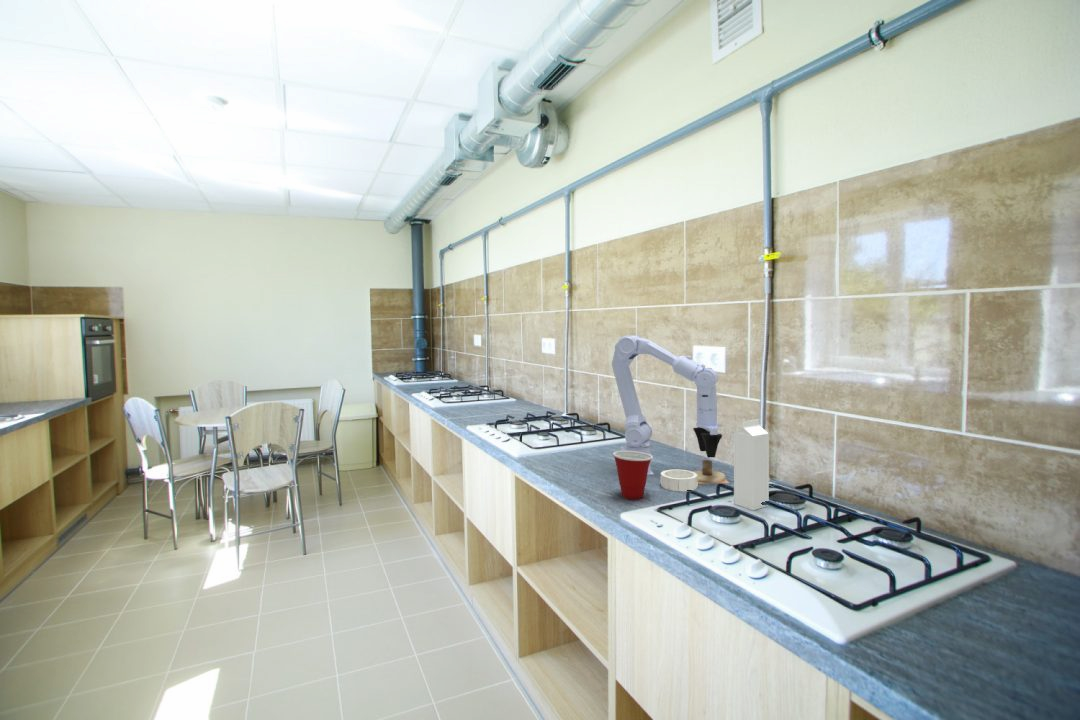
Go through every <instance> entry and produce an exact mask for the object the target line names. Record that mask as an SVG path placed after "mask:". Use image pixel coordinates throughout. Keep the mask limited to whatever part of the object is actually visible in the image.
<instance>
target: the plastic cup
mask: <svg viewBox="0 0 1080 720" xmlns="http://www.w3.org/2000/svg"><path fill="white" fill-rule="evenodd" d="M612 455H613V457H614V461H615V466H616V470H617V471H616V472H617V476H618V477H617V478H618V482H619V483H618V484H619V487H620V493H621V497H622V498H623V499H626V500H631V501H632V500H633V501H635V500H641V499H643V498H644V495H645V490H646V484H647V479H648V475H647V473H648V467H649V464H650V461H652V459H653V458H654V455H652V454H651V455H650V454H647V453H643V452H637V451H621V450H618V451H614V452H613V453H612Z"/></svg>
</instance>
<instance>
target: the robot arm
mask: <svg viewBox="0 0 1080 720" xmlns="http://www.w3.org/2000/svg"><path fill="white" fill-rule="evenodd" d="M639 355H650V356H652V357H654V358H656V359H658V360H660V361H662V362H664V363H666V364H668V365H670V366H671V367H672V370H673V372H674V373H676V374H677V375H679V376H680V377H681V376H682V377H683V378H684V379H686V380H689V381H690V382H693V383H694V384H695V386H696V427H693V428H692V429H693V431H694V435H695V437H696V438H697V439H696V440H697V443H698V448H699V451H700V452H705V453H706V456H707V458H715V457H716V455H717V450H718V446H719V443H720V441H721V440H722V438H723V434H722V433H719V431H718V430H719V429H718V428H719V427H721V426H722V423H721V422H718V394H717V385H716V384H717V382H718V379H719V376H718V373H717V371H715V370H714V369H713V368H711V367H706V365H705V364H704V363H702V364H700V363H699V362H696V360H695V361H694V360H693V359H692V356H690V355H679V356H677V355H675V354H673V353H672V352H670V351H669V350H667V349H665V348H663V347H662V346H660V345H659V344H657V343H655V342H654V341H651V340H649V339H648V338H644V337H641V336H640V335H638V334H632V335H628V334H627V335H623V336H621V337H620V338H619V339H618V340H617V342H616V343H615V345H614V353H613V357H612V361H611V367H612V370H613V374H614V378H615V381H616V386H617V389H618V393H619V397H620V402H621V404H622V408H623V411H624V415H625V422H624V428H625V433H624V439H625V441H626V443H627V444H624V445H621V446H620V451H637V452H643V453H647V454H650V455H652V454H651V442H650V439H651V437H652V435H653V428H652V426H650V424H649V423H648V421H647V418H646V417H645V415H644V414H643V412H642V408H641V405H640V401H639V398H638V394H637V390H636V387H635V382H634V380H633V376H632V373H631V368H630V366H631V364H632V363H633V361H634V359H635V358H636V357H637V356H639ZM651 461H652V460H651ZM651 461H650V464H649V467H648V473H647V476H650V475H654V472H653V470H652V469H651V468H652V467H651V465H652V462H651Z"/></svg>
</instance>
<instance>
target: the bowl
mask: <svg viewBox="0 0 1080 720" xmlns="http://www.w3.org/2000/svg"><path fill="white" fill-rule="evenodd" d="M660 485H661V488H663V489H665V490H668V491H673V492H688V491H687V490H692V491H695V490H697V489H698V486H699V485H698V475H697V474H696V473H695V472H692V471H691V470H687V469H676V468H675V469H674V468H673V469H666V470H663V471H662V472H661V471H660Z"/></svg>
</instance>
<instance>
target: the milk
mask: <svg viewBox="0 0 1080 720" xmlns="http://www.w3.org/2000/svg"><path fill="white" fill-rule="evenodd" d="M769 436H770V435H769V432H768V431H767V430H766V429H764V428H763V427H762V426H761V425H760V419H750V420H744V421H743V422H742V427H741V428H739V429H737V430H736V431H734V432H733V503H734V505H736V506H739V507H742V508H744V509H748V510H750V511H757V510H760V509H763V508H767V507H768V506H765V505H762V504H761V503H762V502H765V501H769V502H770V500H769V499H770V496H769V495H770V494H769V492H770V489H769V488H770V475H769V473H770V471H769V470H770V469H769V468H770V467H769V466H770V464H769V463H770V461H769V458H770V457H769V456H770V454H769V453H770V452H769V449H770V445H769V444H770V443H769V441H770V438H769Z"/></svg>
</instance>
